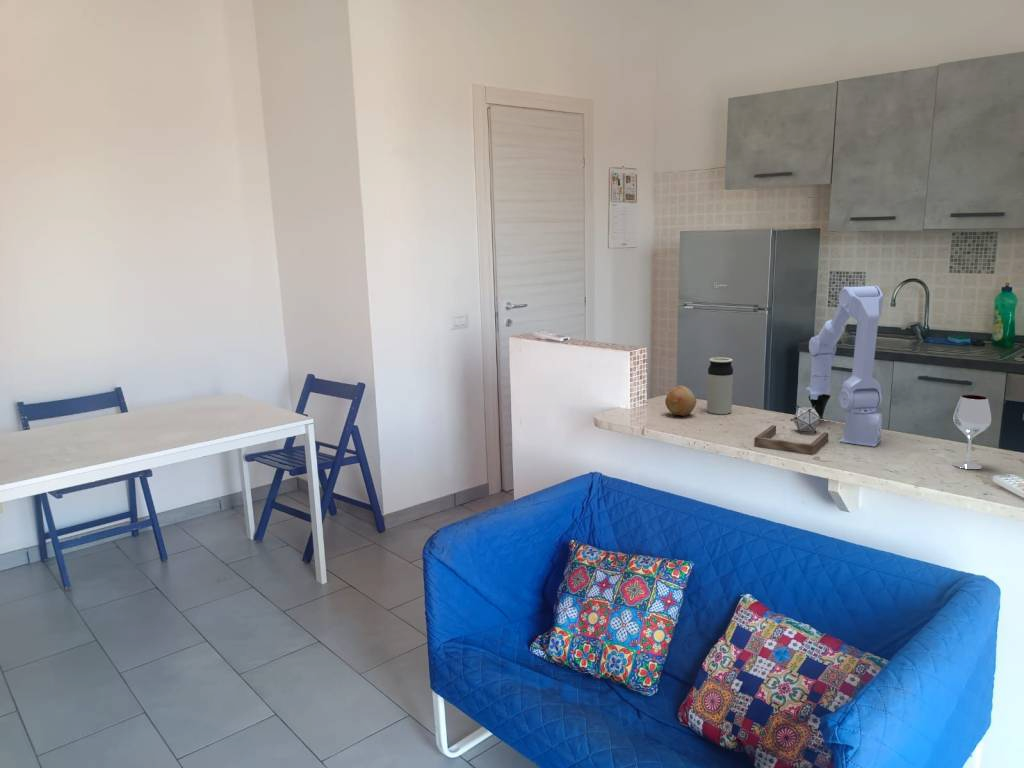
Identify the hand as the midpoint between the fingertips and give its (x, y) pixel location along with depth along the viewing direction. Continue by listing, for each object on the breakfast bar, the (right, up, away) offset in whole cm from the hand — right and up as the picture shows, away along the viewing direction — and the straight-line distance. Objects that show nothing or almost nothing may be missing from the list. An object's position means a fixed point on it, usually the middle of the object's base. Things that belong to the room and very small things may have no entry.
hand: (818, 417), depth 238 cm
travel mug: (-27, +1, +16) cm, 31 cm away
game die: (-8, -4, -11) cm, 14 cm away
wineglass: (+19, -11, -46) cm, 51 cm away
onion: (-41, 0, +12) cm, 42 cm away
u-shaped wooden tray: (-17, -6, -23) cm, 29 cm away
